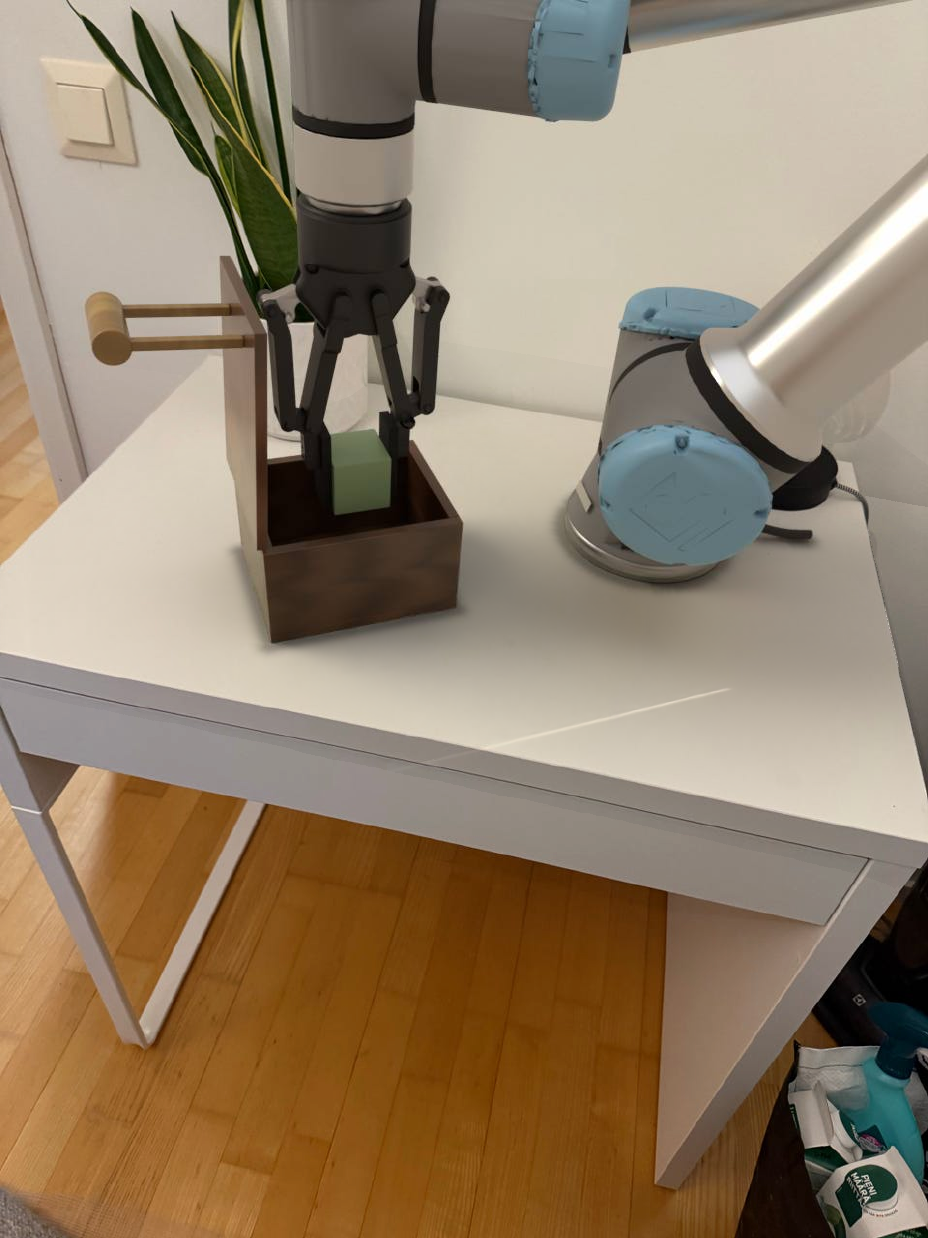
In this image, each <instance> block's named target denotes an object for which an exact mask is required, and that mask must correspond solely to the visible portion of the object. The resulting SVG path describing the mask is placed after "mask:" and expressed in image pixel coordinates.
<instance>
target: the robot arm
mask: <svg viewBox="0 0 928 1238" xmlns="http://www.w3.org/2000/svg"><path fill="white" fill-rule="evenodd" d="M911 1H912V0H285V7H286V20H287V21H286V24H287V35H288V36H287V37H288V38H287V39H288V41H287V42H288V55H289V69H290V70H289V71H290V87H291V104H292V105H291V106H292V107H291V111H292V112H291V115H292V130H293V131H292V133H293V160H294V161H293V163H294V184H295V187H296V188H297V190H299V191H300V192H301V193H300V194H299V195H298V196H297V197H296V199H295V207H296V208H295V212H296V213H295V214H296V215H295V216H296V229H297V230H296V233H297V234H296V235H297V255H298V256H297V257H298V258H297V259H298V262H297V267H296V269H295V271H294V273H293V275H292V279H291V283H290V284H289V285H286V286H284V287H282V288H280V289H277V290H275V291H273V292H272V291H271V290H270V289H267V288H263V289H260V290H259V291H258V292H257V293H256V296H255V300H256V303H257V305H258V307H259V309H260V311H261V313H262V316H263V317H264V320H265V322H266V328H267V344H268V355H269V367H270V379H271V391H272V393H271V394H272V405H273V412H274V415H275V417H276V420H277V422H278V424H279V426H280V428H281V430H282V431H283V432H285V433H291V432H294V431H295V432H299V437H300V455H301V456H302V458H303V461H304V463H305V465H306V467H307V469H308V470H315V490H316V493H317V495H318V497H319V500H320V502H321V504H322V507H323V509H328V508H333V504H332V465H331V463H332V452H331V435H330V434H331V433H330V431H329V429H328V427H327V425H326V423H325V421H324V419H325V415H326V410H327V404H328V402H329V396H330V392H331V388H332V383H333V379H334V374H335V370H336V366H337V362H338V356H339V354H341V352H342V349H343V345H344V340H345V339H349V338H352V337H354V336H357V335H363V336H369V337H371V339H372V343H373V346H374V347H373V348H374V351H375V355H376V359H377V363H378V367H379V372H380V375H381V380H382V384H383V389H384V392H385V396H386V397H385V398H386V401H387V405H388V408H389V410H384V411H378V436H379V438H380V440H381V441H382V443H383V445H384V447H385V449H386V451H387V452H388V454H389V456H390V458H391V487H390V499H395V498H397V465H398V458H402V457H407V455H408V452H409V440H411V439H410V437H411V436H410V435H411V430H412V429H414V427H415V426H416V419H415V418H416V417H418V416H420V415H424V416H428V415H431V414H433V413H434V411H435V408H436V400H437V399H436V396H437V385H438V383H437V382H438V368H439V367H438V366H439V353H440V352H439V351H440V337H441V322H442V320H443V317H444V316H445V312H446V311H447V308H448V305H449V303H450V300H451V294H450V292H449V291H448V290H447V288H446V287H445V286H444V285H443V284H442V282H441V281H440V280H439V279H438V278H437V277H436V276H428V277H427V278H423V277H420V276H417V275H416V274H415V272H414V269H413V267H412V266H411V261H410V260H411V251H412V250H411V248H412V220H413V218H412V217H413V216H412V215H413V212H412V211H413V206H412V203H411V202H410V200H409V199H408V198H407V197H409V196H410V195H411V194H412V192H413V190H414V158H415V157H414V156H415V155H414V154H415V152H414V149H415V148H414V147H415V143H414V142H415V125H416V121H415V120H416V102H417V101H419V102H425V103H428V104H437V105H438V104H442V105H446V106H448V105H449V106H452V107H453V106H454V107H462V108H466V109H467V108H468V109H475V110H482V111H490V112H496V113H504V114H509V115H516V116H517V115H518V116H523V117H532V118H538V119H541V120H544V121H545V122H548V123H556V122H559V121H572V122H573V121H574V122H593V123H594V122H598V121H601V120H603V119H605V118H606V117H607V116H608V115H609V114H610V112H611V111H612V110H613V107H614V104H615V99H616V95H617V88H618V87H617V86H618V84H619V83H618V82H619V77H620V72H621V66H622V59H623V55H628V54H632V53H636V52H641V51H646V50H651V49H658V48H663V47H669V46H674V45H678V44H679V45H680V44H683V43H689V42H695V41H700V40H706V39H711V38H717V37H722V36H727V35H731V34H732V35H733V34H737V33H743V32H750V31H754V30H759V29H765V28H771V27H776V26H781V25H782V26H783V25H786V24H792V23H797V22H803V21H807V20H814V19H819V18H825V17H830V16H836V15H840V14H846V13H852V12H858V11H863V10H867V9H873V8H878V7H884V6H890V5H894V4H900V3H905V2H906V3H907V2H911ZM411 295H412V296H411ZM410 297H411V303H412V305H413V307H414V313H413V329H412V330H413V331H412V348H411V349H412V350H411V351H412V353H411V373H410V393H408V390H407V385H406V381H405V376H404V371H403V367H402V363H401V358H400V354H399V349H398V338H397V333H396V329H395V325H394V320H395V318H396V316H397V315H398V314H399V312H400V311H401V309H402V308H403V307H404V305H405V304H406V303H407V301H408V300H409V298H410ZM299 304H302V305H303V306H304V308H305V309H306V310H307V311H308V312H309V314H310V315H311V316H312V318H313V319H314V322H313V328H312V334H313V337H312V342H311V348H310V354H309V358H308V363H307V368H306V371H305V377H304V383H303V387H302V391H301V395H300V401H299V405H298V406H299V407H298V406H297V404H296V385H295V370H294V369H295V368H294V352H293V340H292V334H291V330H290V327H289V325H291V324H292V323H293V322H294V320H295V318H296V310H295V309H296V307H297V305H299ZM618 329H619V333H618V334H619V335H618V340H617V346H616V351H615V355H614V356H615V357H614V361H613V367H612V370H611V375H610V376H611V377H610V381H609V386H608V392H607V398H606V403H605V407H604V413H603V419H602V424H601V429H600V435H599V439H598V446H597V449H596V453H595V454H594V455H593V458H592V460H591V461H590V463H589V465H588V467H587V468H586V470H585V472H584V474H583V475H582V477H581V479H579V481H578V483H577V485H576V486H575V488H574V489H573V491H572V492H571V494H570V496H569V498H568V500H567V505H566V510H565V511H566V512H565V516H564V530H565V533H566V536H567V538H568V540H569V542H570V543H571V545H572V546H573V547H574V549H575V550H576V551H577V552H578V553H579V554H580V555H582V556H583V558H585V559H587V561H589V562H590V563H592V564H594V565H595V566H597V567H599V568H601V569H603V570H605V571H607V572H609V573H612V574H614V575H617V576H620V577H623V578H627V579H630V580H635V581H639V582H640V581H641V582H647V583H678V582H684V581H687V580H692V579H696V578H699V577H701V576H703V575H704V574H706V573H708V572H710V571H711V570H712V569H714V568H715V566H716V565H717V564H718V563H719V562H722V561H725V560H728V559H730V558H732V557H734V556H735V555H738V554H739V553H741V552H742V551H744V550H746V549H747V548H748V547H750V546H751V545H752V544H753V543H754V542H755V541H756V539H757V538H758V537H759V535H761V534H766V535H769V536H773V537H777V538H784V539H791V540H811V539H812V538H813V530H812V529H792V528H791V529H790V528H784V527H778V526H774V525H770V524H768V523H767V522H768V518H769V517H770V514H771V510H772V509H773V499H774V495H773V493H774V492H775V491H777V490H778V489H779V488H780V487H782V486H783V485H784V484H785V483H787V482H789V480H791V479H792V478H793V477H795V476H796V475H797V474H798V473H800V472H801V471H802V470H804V469H805V468H807V466H809V465H810V464H811V463H812V462H814V461H815V460H816V459H817V458H818V457H819V456H820V455H821V452H822V448H823V447H822V446H823V439H824V431H825V427H826V424H827V423H828V422H829V420H831V419H832V418H833V417H834V416H835V415H837V414H838V413H840V412H841V411H842V410H843V409H844V408H845V407H847V406H848V405H849V404H851V403H852V402H853V401H854V400H855V399H857V398H858V397H859V396H861V395H862V394H863V393H865V391H867V390H868V389H870V388H871V387H872V386H873V385H874V384H876V383H877V382H878V381H880V380H881V379H882V378H883V377H885V376H886V375H887V374H888V373H890V372H891V371H892V370H893V369H895V368H896V367H897V366H899V364H901V363H903V362H904V360H906V359H907V358H908V357H910V356H911V355H912V354H914V352H916V351H917V350H919V348H921V347H922V346H923V345H925V344H926V343H927V342H928V153H926V154H925V155H924V156H923V157H922V158H921V159H920V160H919V161H918V162H917V163H915V165H913V167H910V169H909V170H908V171H907V172H906V173H904V175H903V176H901V178H900V179H898V180H897V181H896V182H895V183H894V184H893V185H892V186H891V187H890V188H889V189H888V190H886V192H884V193H883V194H882V195H881V196H880V197H879V198H878V199H877V200H876V201H875V202H873V204H872V205H870V207H869V208H867V209H866V210H865V211H864V212H863V213H861V215H860V216H858V217H857V218H856V220H855V221H853V223H851V224H850V225H849V226H848V227H847V228H846V229H845V230H844V231H843V232H841V233H840V234H839V235H838V236H837V237H836V238H835V239H834V240H833V241H832V242H831V243H830V244H828V245H827V247H825V248H824V249H823V250H822V251H821V252H820V253H819V254H818V255H817V256H816V257H815V258H814V259H812V260H811V261H810V263H808V264H807V265H806V266H805V267H804V268H803V269H802V270H801V271H800V272H799V273H798V274H797V275H795V276H794V278H792V279H791V280H790V281H789V282H788V283H787V284H786V285H785V286H784V287H782V288H781V289H780V290H779V291H778V292H777V293H776V294H775V295H774V296H773V297H772V298H771V299H770V300H769V301H767V303H765V304H764V305H763V306H762V307H761V308H759V307H758V306H756V305H755V304H752V303H750V302H749V301H747V300H743V299H741V298H739V297H736V296H732V295H729V294H725V293H721V292H717V291H713V290H706V289H701V288H693V287H686V286H685V287H683V286H659V287H651V288H646V289H642V290H639V291H638V292H636V293H634V294H633V295H631V296H630V298H628V300H627V302H626V304H625V307H624V312H623V314H622V318H621V321H620V322H619V323H618Z"/></svg>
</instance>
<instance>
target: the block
mask: <svg viewBox="0 0 928 1238" xmlns="http://www.w3.org/2000/svg"><path fill="white" fill-rule="evenodd" d="M330 435H331V452H332V463H331V465H332V504H333V508H332V510H333V512H334V515H340V514H346V513H353V512H360V511H366V510H373V509H380V508H386V507H390V487H391V458H390V456H389V454H388V452H387V451H386V449H385V447H384V445H383V443H382V441H381V440H380V438H379V433H378V432H377V430H376V429H375V428H369V429H361V430H354V431H346V432H337V433H330Z"/></svg>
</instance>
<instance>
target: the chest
mask: <svg viewBox="0 0 928 1238" xmlns="http://www.w3.org/2000/svg"><path fill="white" fill-rule="evenodd" d="M233 483H234V482H233ZM267 484H268V549H267V550H259V551H257V549H256V546H255V543H254V540H253V537H252V534H251V531H250V528H249V525H248V522H247V519H246V516H245V513H244V510H243V507H242V504H241V501H240V498H239V495H238V492H237V489H236V486H235V483H234V484H233V485H234V493H235V504H236V511H237V512H236V513H237V520H238V528H239V538H240V548H241V551H242V554H243V558H244V561H245V564H246V567H247V570H248V573H249V577H250V580H251V583H252V586H253V591H254V593H255V596H256V599H257V602H258V606H259V608H260V609H259V610H260V612H261V615H262V618H263V621H264V625H265V628H266V631H267V635H268V637H269V641H270V643H271V644H274V643H279V642H284V641H288V640H295V639H299V638H305V637H309V636H315V635H321V634H325V633H331V632H336V631H340V630H345V629H346V630H347V629H352V628H357V627H362V626H367V625H372V624H377V623H383V622H388V621H393V620H398V619H403V618H408V617H413V616H419V615H425V614H429V613H434V612H440V611H445V610H451V609H456V608H457V605H458V604H457V603H458V589H459V579H460V578H459V577H460V568H461V567H460V565H461V556H462V555H461V554H462V543H463V533H464V532H463V531H464V521H463V520H462V518H461V516H460V515H459V513H458V511H457V509H456V508H455V507H454V505H453V503H452V501H451V500H450V498H449V496H448V494H447V493H446V491H445V489H444V488H443V486H442V485H441V483H440V481H439V479H438V477H436V475H435V473H434V471H433V470H432V468H431V466H430V465H429V463H428V462H427V460H426V458H425V457H424V455H423V453H422V452H421V451H420V449H419V447H418V445H417V443H416V442H415V440H413V439H410V440H409V452H408V455H407V457H402V458H398V465H397V498H395V499H390V507H386V508H380V509H373V510H366V511H360V512H353V513H346V514H340V515H334V512H333V510H332V508H328V509H323V507H322V504H321V502H320V500H319V497H318V495H317V493H316V490H315V470H308V469H307V467H306V465H305V463H304V461H303V458H302V456H301V454H295V455H294V454H293V455H288V456H282V457H281V456H280V457H272V458H271V457H270V458H267Z"/></svg>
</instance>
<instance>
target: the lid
mask: <svg viewBox="0 0 928 1238" xmlns="http://www.w3.org/2000/svg"><path fill="white" fill-rule="evenodd" d="M219 280H220V283H219V284H220V302H218V303H217V302H216V303H215V302H213V303H209V302H208V303H152V304H151V303H150V304H149V303H146V304H143V303H142V304H139V303H138V304H123V303H122V301H121V300H120V299H119V298H118V297H117V296H116V295H115V294H113V293H111V292H108V291H96V292H94V293H92V294H91V295H89V296H88V297H87V299H86V300H85V303H84V311H85V317H86V322H87V323H86V324H87V329H88V335H89V341H90V347H91V352H92V354H93V357H95V358H96V360H97V361H99V362H100V363H102V364H104V365H106V366H111V367H115V366H120V365H123V364H125V363H126V362H128V360H129V359H131V356H132V355H133V354H132V353H134V352H162V351H163V352H165V351H195V350H196V351H197V350H198V351H199V350H222V370H223V371H222V372H223V392H224V393H223V395H224V396H223V397H224V398H223V399H224V425H225V451H226V453H225V454H226V455H225V456H226V461H227V464H228V467H229V471H230V474H231V476H232V479H233V483H235V486H236V489H237V492H238V495H239V498H240V501H241V504H242V507H243V510H244V513H245V516H246V519H247V522H248V525H249V528H250V531H251V534H252V537H253V540H254V543H255V546H256V549H257V551H259V550H267V549H268V484H267V459H268V332H267V331H266V329H265V326H264V324H263V322H262V320H261V318H260V316H259V314H258V311H257V309H256V307H255V306H254V303H253V301H252V299H251V295H249V292H248V289H247V288H246V286H245V283H244V282H243V280H242V278H241V274H240V273H239V271H238V269H237V267H236V264H235V262H234V260H233V258H232V256H231V255H219ZM200 317H201V318H203V317H205V318H207V317H209V318H210V317H221V334H209V335H205V334H204V335H168V336H132V337H131V336H130V330H129V326H128V323H127V322H128V321H127V319H153V318H155V319H156V318H200ZM235 486H234V487H235Z"/></svg>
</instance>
